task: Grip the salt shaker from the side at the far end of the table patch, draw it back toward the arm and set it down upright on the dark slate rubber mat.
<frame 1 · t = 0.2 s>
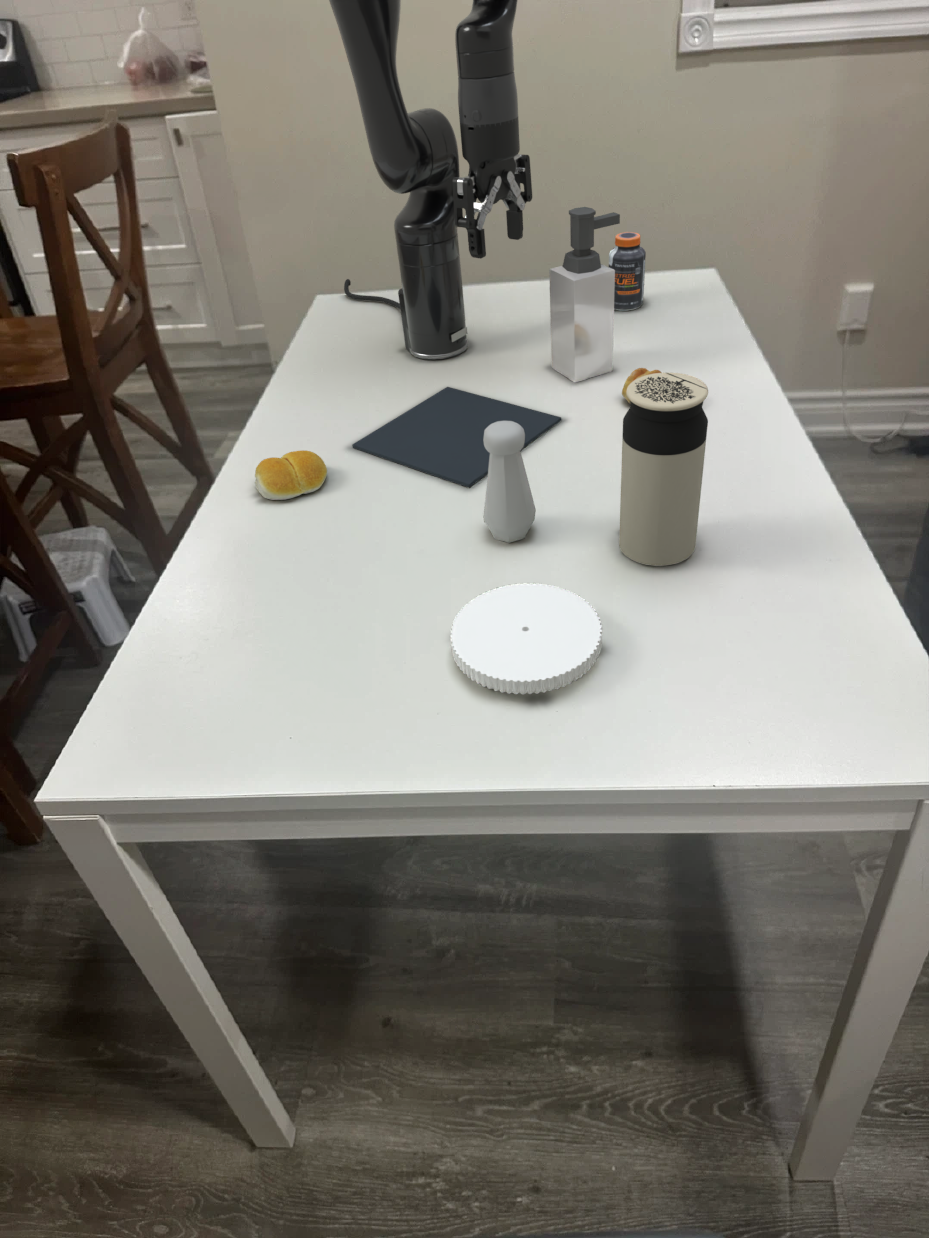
hand: (497, 248, 120), 17 cm above the table, tool pointing down, fingers open, 8 cm apart
plastic lid: (526, 650, 82), on the table
travel mug: (656, 548, 92), on the table
salt shaker: (510, 533, 97), on the table
pastry: (655, 402, 118), on the table
pill bottle: (625, 306, 146), on the table
soap dispenser: (588, 368, 128), on the table
bread roll: (292, 486, 109), on the table
mat: (457, 434, 116), on the table
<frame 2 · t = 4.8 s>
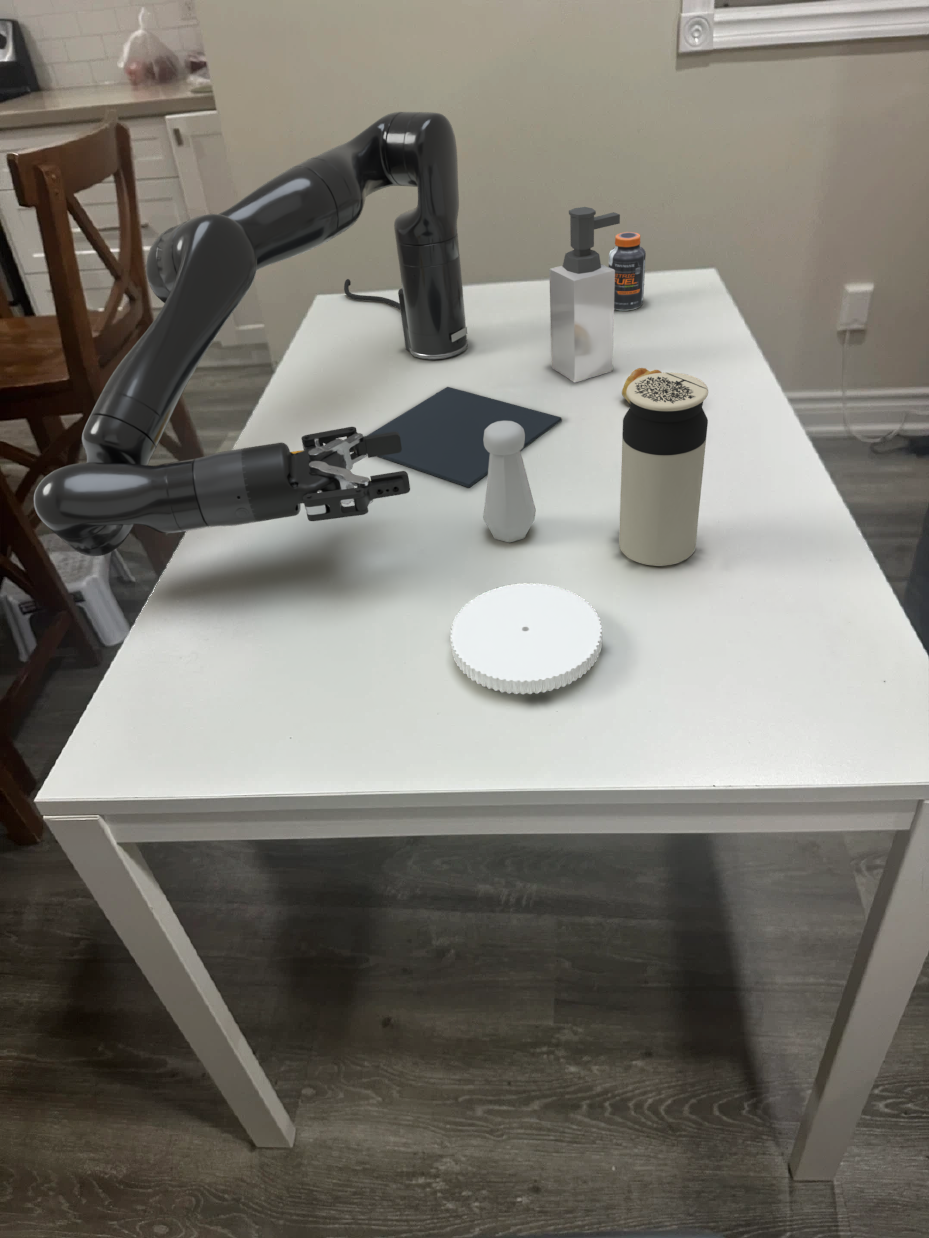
hand: (404, 460, 89), 11 cm above the table, tool horizontal, fingers open, 8 cm apart
nothing on the table moved.
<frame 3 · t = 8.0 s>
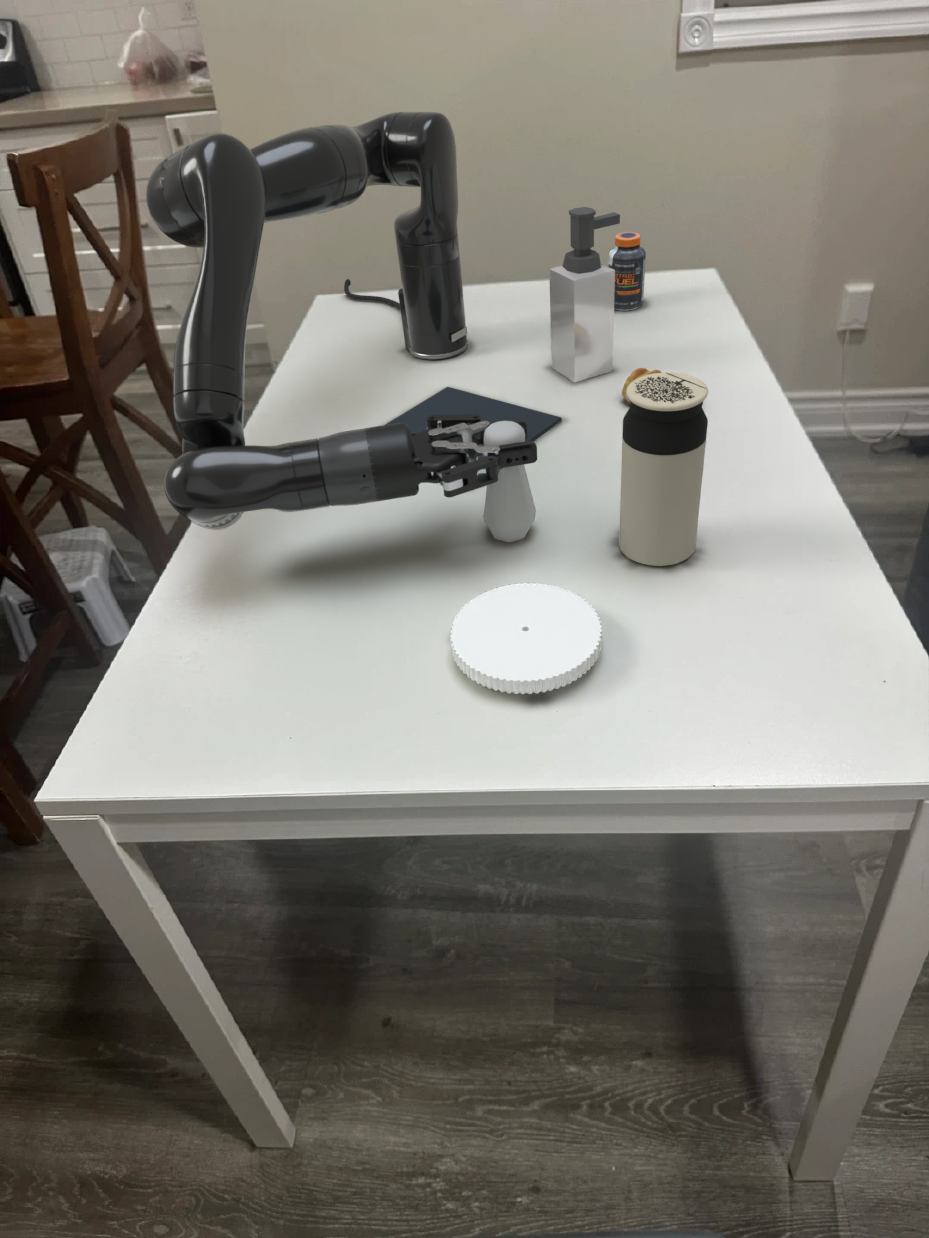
hand: (530, 440, 90), 11 cm above the table, tool horizontal, fingers closed on salt shaker, 4 cm apart
salt shaker: (510, 533, 97), on the table, touching gripper
everything else where it was.
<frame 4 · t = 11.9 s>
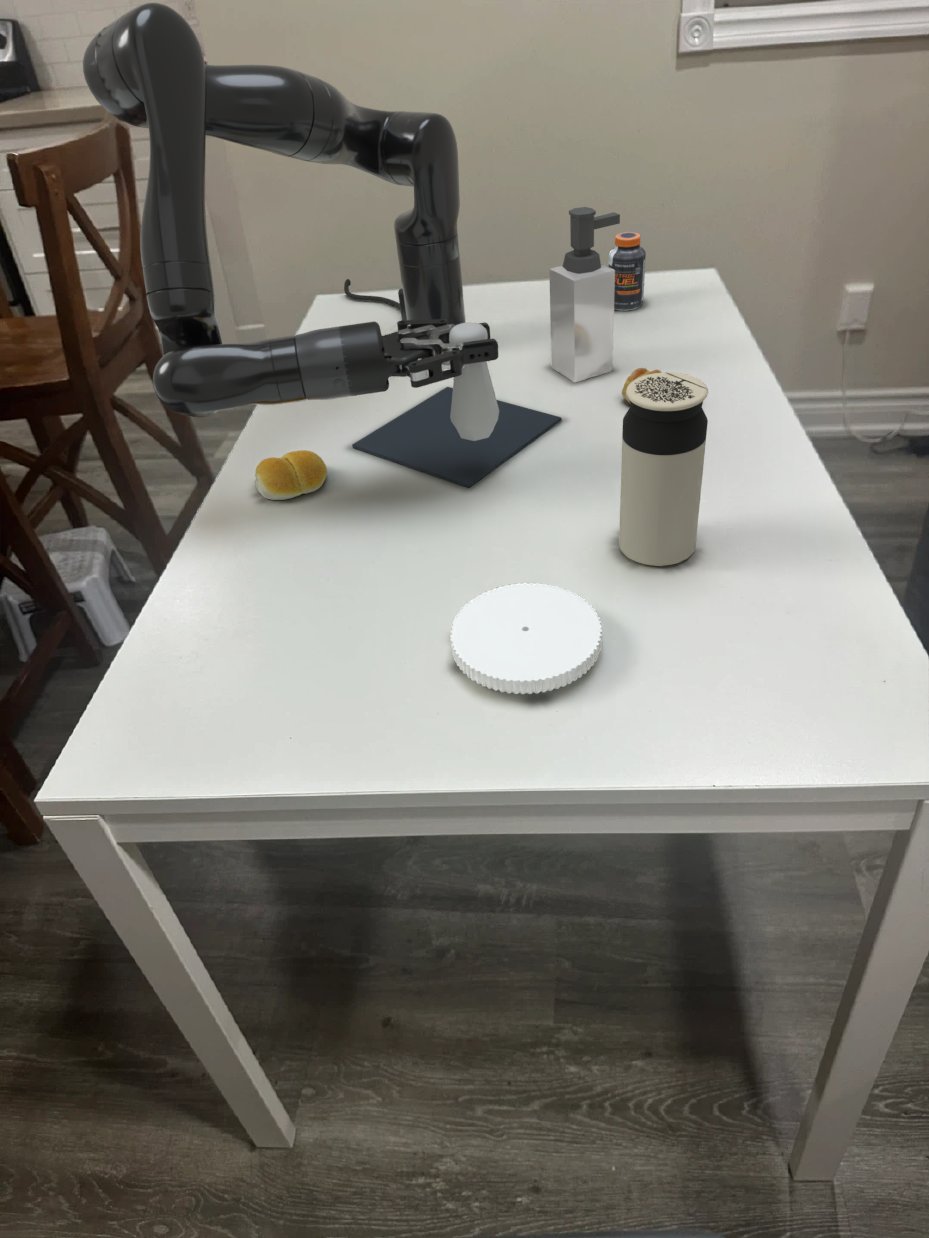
hand: (492, 340, 97), 17 cm above the table, tool horizontal, fingers closed on salt shaker, 4 cm apart
salt shaker: (476, 434, 104), point 5 cm above the table, touching gripper
everything else where it was.
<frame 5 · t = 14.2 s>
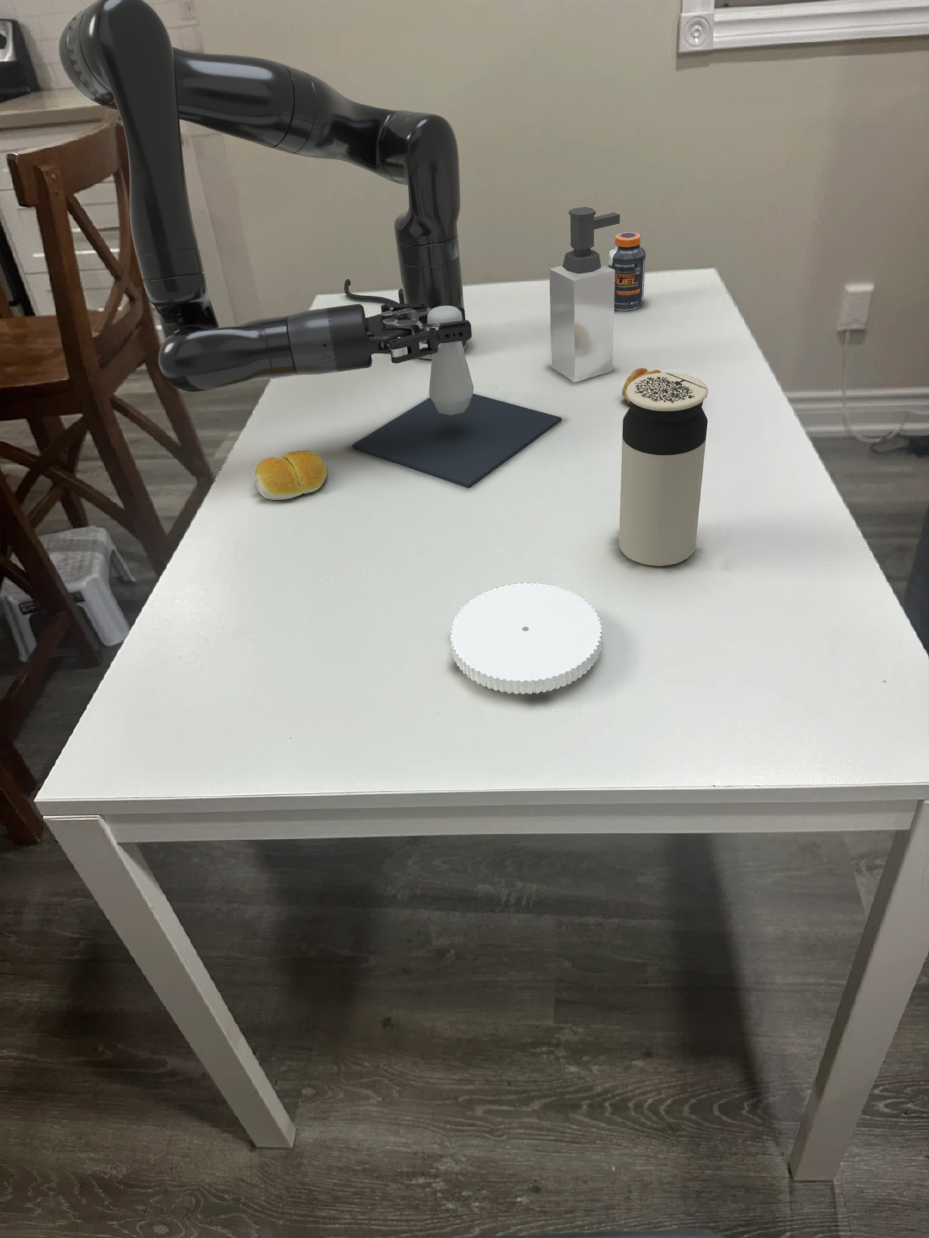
hand: (467, 322, 106), 15 cm above the table, tool horizontal, fingers closed on salt shaker, 4 cm apart
salt shaker: (452, 409, 113), point 4 cm above the table, touching gripper
everything else where it was.
when the fingers open (12 cm above the table, at t = 15.6 s): salt shaker stays where it is, resting on mat.
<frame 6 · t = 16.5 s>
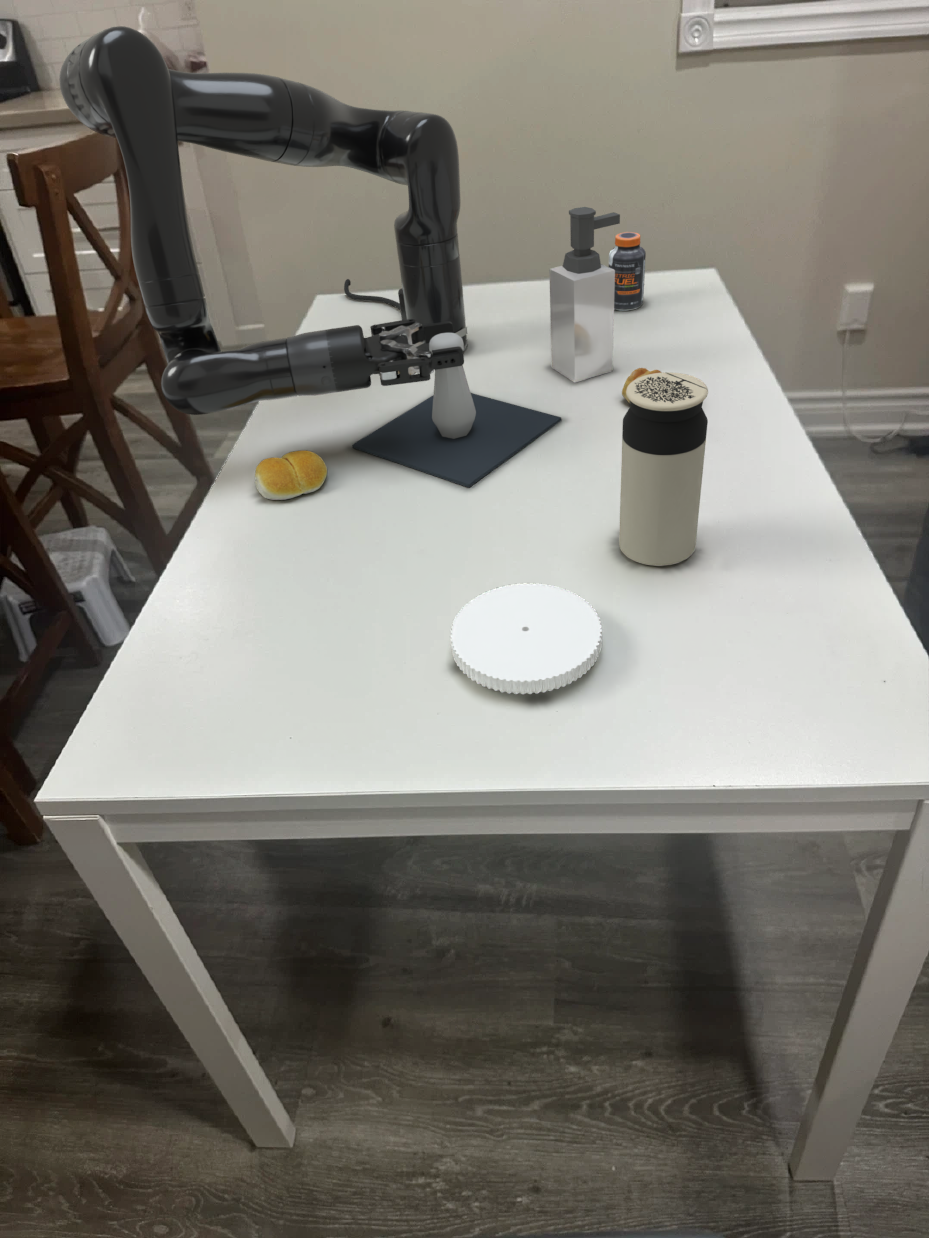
hand: (457, 342, 108), 12 cm above the table, tool horizontal, fingers open, 8 cm apart
salt shaker: (455, 432, 115), resting on mat
everything else where it was.
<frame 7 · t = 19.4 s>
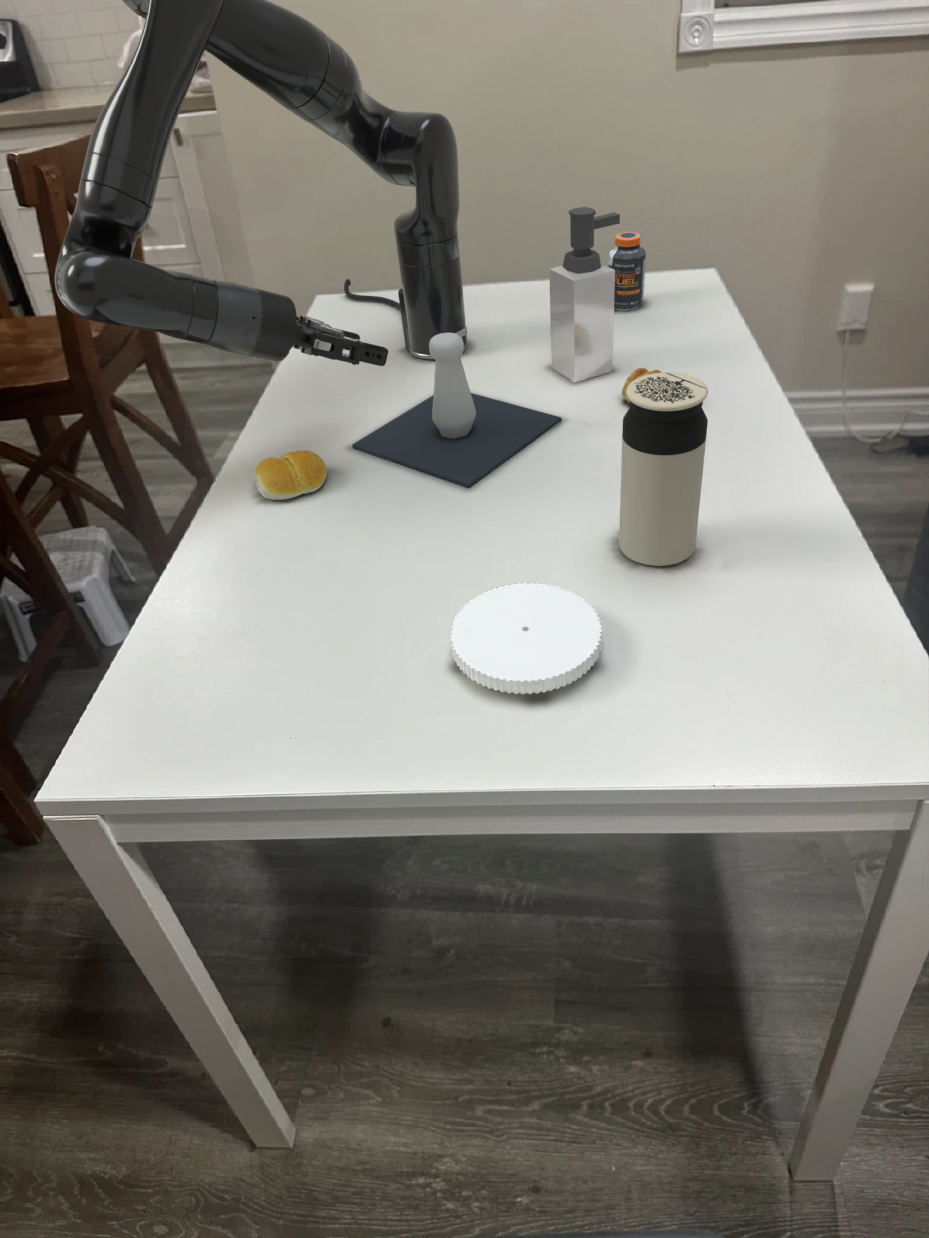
hand: (371, 350, 109), 12 cm above the table, tool tilted 65°, fingers open, 8 cm apart
nothing on the table moved.
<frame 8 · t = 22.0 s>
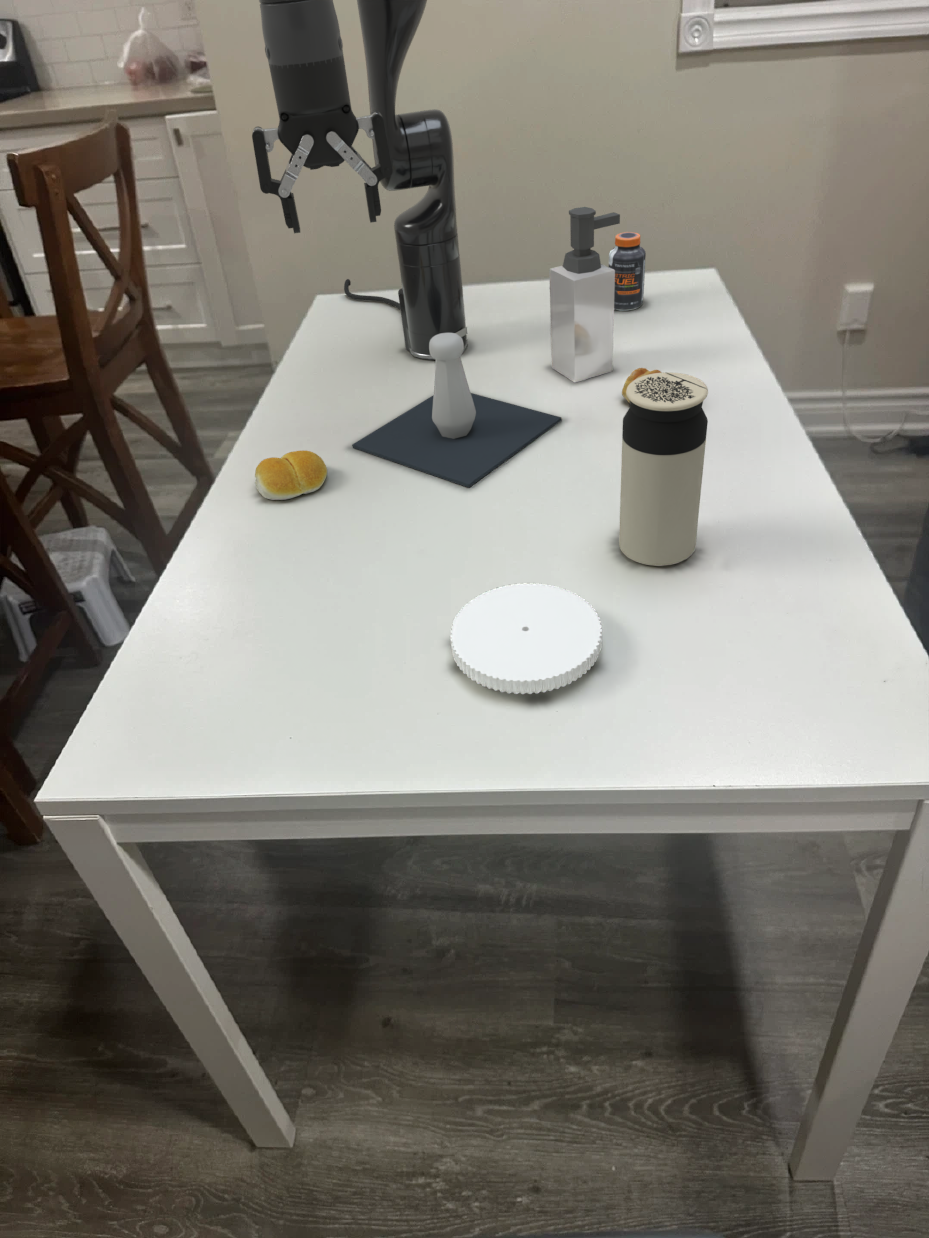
hand: (335, 226, 97), 28 cm above the table, tool pointing down, fingers open, 8 cm apart
nothing on the table moved.
at the end: salt shaker inside the target area on the mat (0.2 cm from its centre), point 0.3 cm above the mat's base; salt shaker tilted 0°; the gripper is holding nothing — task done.
